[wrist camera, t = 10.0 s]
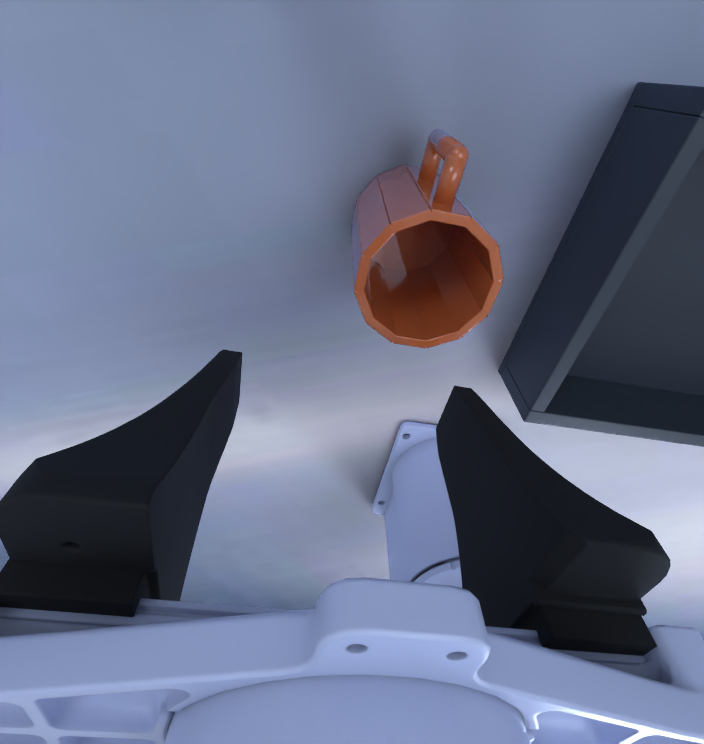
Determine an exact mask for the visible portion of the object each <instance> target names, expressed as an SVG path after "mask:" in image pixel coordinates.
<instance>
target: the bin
mask: <svg viewBox="0 0 704 744" xmlns="http://www.w3.org/2000/svg"><path fill="white" fill-rule="evenodd" d="M498 371H499V373H500V375H501V377H502V379H503V381H504V383H505V385H506V387H507V389H508V391H509V393H510V395H511V397H512V399H513V401H514V403H515V405H516V407H517V409H518V411H519V413H520V415H521V417H522V419H523V421H525V422H531V423H538V424H545V425H552V426H560V427H567V428H574V429H581V430H588V431H595V432H602V433H609V434H616V435H624V436H631V437H638V438H645V439H652V440H659V441H666V442H673V443H680V444H688V445H695V446H702V447H704V87H698V86H684V85H671V84H657V83H643V82H639V83H638V84H637V86H636V88H635V90H634V92H633V94H632V96H631V98H630V100H629V102H628V104H627V106H626V108H625V110H624V112H623V115H622V117H621V119H620V121H619V123H618V125H617V127H616V129H615V131H614V133H613V135H612V137H611V139H610V141H609V143H608V145H607V148H606V150H605V152H604V154H603V156H602V158H601V160H600V162H599V164H598V166H597V168H596V170H595V172H594V174H593V176H592V178H591V181H590V183H589V185H588V187H587V189H586V191H585V193H584V195H583V197H582V199H581V201H580V203H579V205H578V207H577V209H576V211H575V214H574V216H573V218H572V220H571V222H570V224H569V226H568V228H567V230H566V232H565V234H564V236H563V238H562V240H561V242H560V244H559V247H558V249H557V251H556V253H555V255H554V257H553V259H552V261H551V263H550V265H549V267H548V269H547V271H546V273H545V275H544V277H543V280H542V282H541V284H540V286H539V288H538V290H537V292H536V294H535V296H534V298H533V300H532V302H531V304H530V306H529V308H528V310H527V313H526V315H525V317H524V319H523V321H522V323H521V325H520V327H519V329H518V331H517V333H516V335H515V337H514V339H513V341H512V343H511V346H510V348H509V350H508V352H507V354H506V356H505V358H504V360H503V362H502V364H501V366H500V368H499V370H498Z"/></svg>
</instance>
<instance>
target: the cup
mask: <svg viewBox="0 0 704 744" xmlns="http://www.w3.org/2000/svg"><path fill="white" fill-rule="evenodd" d="M468 155H469V154H468V150H467V148H466V147H465V146H464V145H463V144H461V143H460V142H459V141H457V140H456V139H454V138H453V137H451V136H450V135H449V134H447V133H446V132H444V131H443V130H441V129H435V130H433V131H432V132H431V133H430V135H429V138H428V141H427V145H426V149H425V153H424V156H423V160H422V164H421V168H419V167H414V166H409V165H406V166H405V165H403V166H400V167H398V168H395V169H392V170H390V171H387V172H384V173H382V174H379V175H377V176H376V177H375V178H374V179H373V180H372V181H371V182H370V184H369V185H368V186H367V187H366V188H365V190H364V191H363V192H362V193H361V194H360V196H359V197H358V198H357V200H356V205H355V210H354V215H353V220H352V226H351V232H352V255H353V278H354V293H355V296H356V299H357V301H358V304H359V307H360V309H361V312H362V315H363V317H364V320H365V322H366V323H367V324H368V325H369V326H370V327H372V328H373V329H374V330H376V331H377V332H378V333H380V334H381V335H382V336H384V337H385V338H386V339H387V340H389V341H390V342H393V343H395V344H401V345H408V346H414V347H420V348H429V347H433V346H436V345H440V344H443V343H447V342H450V341H453V340H457V339H460V337H461V338H462V337H463V336H464V335H465V334H467V333H468V332H469V331H470V330H471V329H472V328H474V327H475V326H476V325H477V324H478V323H479V322H481V321H482V320H483V319H484V318H485V317H487V316H488V314H489V313H490V311H491V309H492V306H493V304H494V302H495V299H496V297H497V295H498V292H499V290H500V288H501V285H502V283H503V272H502V265H501V258H500V251H499V245H498V244H497V242H496V241H495V239H494V238H493V237H492V236H491V235H490V234H489V232H488V231H487V230H486V229H485V228H484V226H483V225H482V224H481V223H480V222H479V220H478V219H477V218H476V217H475V216H474V215H473V213H472V212H471V211H470V210H469V209H468V207H467V206H466V205H465V204H464V203H463V201H462V200H461V199H460V198H459V197H458V195H457V191H458V188H459V185H460V182H461V179H462V176H463V173H464V170H465V166H466V163H467V160H468ZM441 158H442V159H443V160H444V164H443V167H442V171H441V174H440V176H439V175H438V174H437V172H438V168H439V165H440V161H441Z"/></svg>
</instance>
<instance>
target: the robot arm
mask: <svg viewBox="0 0 704 744" xmlns="http://www.w3.org/2000/svg"><path fill="white" fill-rule="evenodd" d="M241 366H242V352H235V351H229V350H222V351H220V352H219V353H218V354H217V355H216V356H215V357H214V358H213V359H212V360H211V361H210V362H209V363H208V364H207V365H206V366H205V367H204V368H203V369H202V370H201V371H200V372H198V373H197V374H196V375H195V376H194V377H193V378H191V379H190V380H189V381H188V382H187V383H186V384H184V385H183V386H182V387H181V388H179V389H178V390H177V391H175V392H174V393H173V394H172V395H170V396H169V397H168V398H166V399H165V400H163V401H162V402H161V403H159V404H158V405H156V406H155V407H153V408H152V409H150V410H148V411H147V412H145V413H144V414H142V415H140V416H138V417H137V418H135V419H133V420H131V421H129V422H127V423H125V424H123V425H121V426H119V427H118V428H116V429H114V430H111V431H109V432H107V433H105V434H103V435H100V436H98V437H96V438H93V439H91V440H88V441H86V442H83V443H81V444H78V445H76V446H73V447H70V448H67V449H64V450H61V451H58V452H55V453H52V454H49V455H46V456H43V457H40V458H37V459H35V461H34V462H33V463H32V464H31V465H30V466H29V467H28V468H27V469H26V470H25V471H24V472H23V473H22V474H21V476H20V477H19V478H18V479H17V480H16V482H15V483H14V484H13V485H12V487H11V488H10V489H9V491H8V492H7V493H6V494H5V496H4V497H3V498H2V500H1V501H0V538H1V540H2V543H3V545H4V547H5V549H6V551H7V553H8V555H9V557H10V559H9V560H8V561H7V563H6V564H5V566H4V567H3V569H2V570H1V572H0V744H704V640H703V638H702V637H701V635H700V633H699V632H698V630H697V629H694V628H689V627H678V626H666V625H656V626H652V627H649V628H647V626H646V624H645V622H644V620H643V618H642V617H641V615H642V616H644V615H645V614H646V611H647V610H646V608H645V606H644V604H643V602H642V601H641V598H642V597H643V596H644V595H645V594H646V593H648V592H649V591H650V590H651V589H652V588H654V587H655V586H656V585H657V584H658V583H660V582H661V581H662V580H663V578H664V577H665V576H666V575H667V573H668V571H669V568H670V559H669V557H668V556H667V554H666V553H665V551H664V549H663V548H662V546H661V545H660V543H659V542H658V540H657V539H656V537H655V536H654V534H653V532H652V531H650V530H649V529H647V528H645V527H643V526H641V525H639V524H637V523H635V522H634V521H632V520H630V519H628V518H626V517H624V516H622V515H621V514H619V513H617V512H615V511H613V510H612V509H610V508H609V507H607V506H605V505H604V504H602V503H600V502H599V501H597V500H595V499H594V498H592V497H591V496H589V495H588V494H586V493H585V492H583V491H582V490H580V489H579V488H578V487H576V486H575V485H573V484H572V483H571V482H569V481H568V480H566V479H565V478H564V477H562V476H561V475H560V474H558V473H557V472H556V471H555V470H553V469H552V468H551V467H550V466H548V465H547V464H546V463H545V462H544V461H542V460H541V459H540V458H539V457H538V456H537V455H536V454H534V453H533V452H532V451H531V450H530V449H529V448H528V447H527V446H526V445H525V444H524V443H523V442H522V441H521V440H520V439H519V438H518V437H517V436H516V435H515V434H514V433H513V432H512V431H511V430H510V429H509V428H508V427H507V426H506V425H505V424H504V423H503V422H502V421H501V420H500V419H499V418H498V417H497V415H496V414H495V413H494V412H493V411H492V410H491V409H490V408H489V407H488V406H487V404H486V403H485V402H484V401H483V400H482V399H481V398H480V397H479V396H478V395H477V394H476V393H475V392H474V391H473V390H472V389H471V388H465V387H459V386H454V388H453V390H452V392H451V395H450V397H449V399H448V402H447V404H446V406H445V409H444V411H443V413H442V415H441V418H440V420H439V422H438V425H431V424H423V423H416V422H404V423H403V424H401V426H400V428H399V431H398V434H397V437H396V440H395V442H394V445H393V448H392V451H391V454H390V457H389V459H388V462H387V465H386V468H385V471H384V474H383V476H382V479H381V482H380V485H379V488H378V491H377V493H376V496H375V499H374V502H373V505H372V512H373V513H374V514H376V515H384V516H385V527H386V538H387V549H388V560H389V572H390V580H386V579H375V578H346V579H344V580H341V581H338V582H336V583H333V584H331V585H329V586H328V587H327V588H326V589H325V590H324V592H323V593H322V594H321V595H320V596H319V598H318V601H317V605H316V608H315V609H306V610H294V611H292V610H280V609H267V608H255V607H243V606H231V605H218V604H206V603H194V602H182V601H180V597H181V593H182V589H183V584H184V580H185V576H186V572H187V568H188V564H189V560H190V556H191V552H192V549H193V545H194V541H195V537H196V533H197V530H198V526H199V522H200V518H201V515H202V511H203V507H204V504H205V500H206V496H207V493H208V490H209V487H210V484H211V481H212V479H213V476H214V474H215V471H216V469H217V466H218V464H219V461H220V458H221V456H222V453H223V451H224V448H225V446H226V443H227V441H228V438H229V435H230V433H231V430H232V428H233V424H234V420H235V416H236V412H237V408H238V404H239V397H240V381H241ZM403 434H408V435H403Z"/></svg>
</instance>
